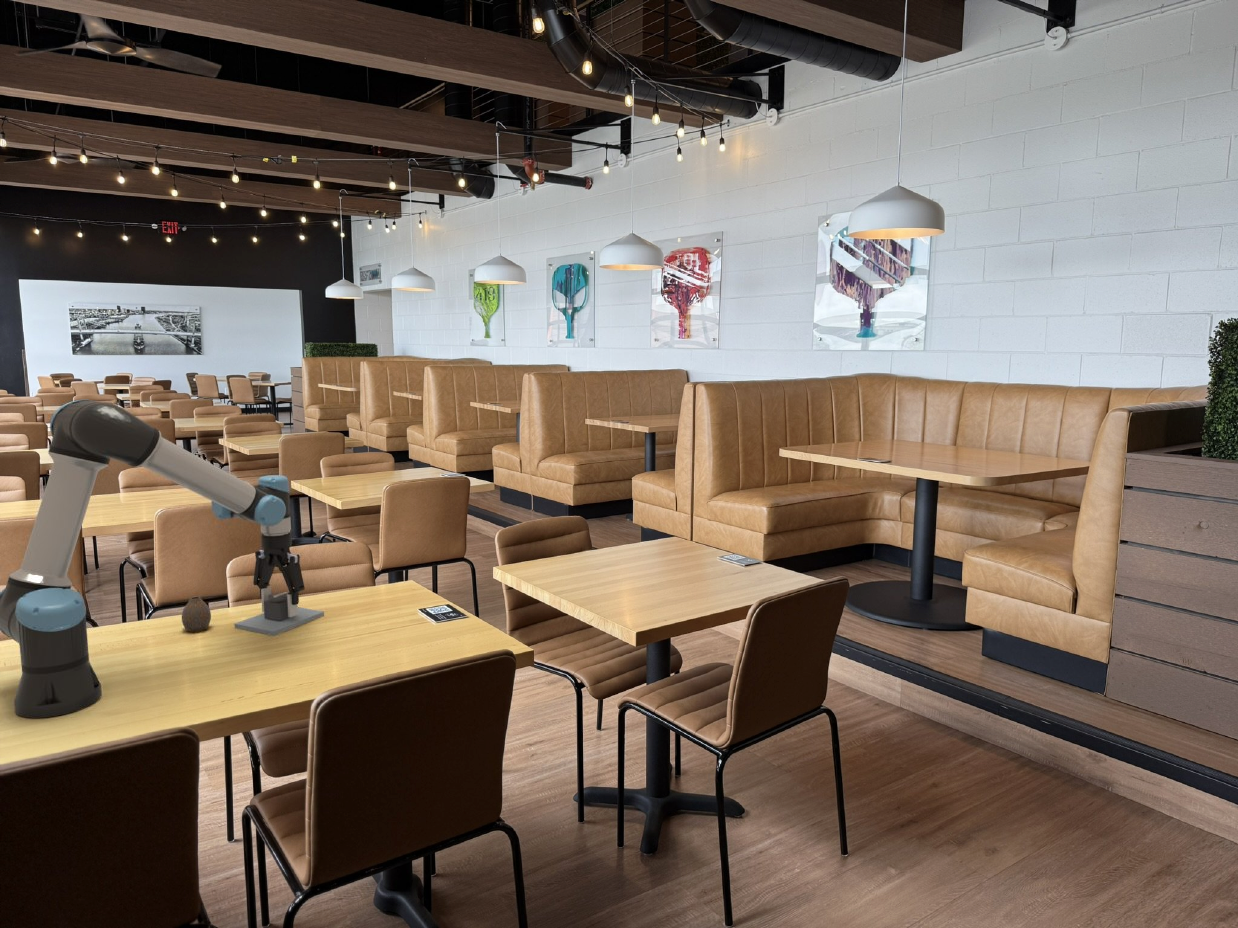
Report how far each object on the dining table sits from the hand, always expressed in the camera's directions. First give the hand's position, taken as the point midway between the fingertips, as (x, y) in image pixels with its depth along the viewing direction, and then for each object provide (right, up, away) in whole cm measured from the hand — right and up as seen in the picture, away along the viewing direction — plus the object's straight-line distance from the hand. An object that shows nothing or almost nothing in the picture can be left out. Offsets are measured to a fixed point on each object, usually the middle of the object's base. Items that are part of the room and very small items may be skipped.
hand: (280, 613), depth 224 cm
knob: (0, -1, 0) cm, 1 cm away
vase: (-19, -3, -6) cm, 21 cm away
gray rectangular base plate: (0, -2, 0) cm, 2 cm away
